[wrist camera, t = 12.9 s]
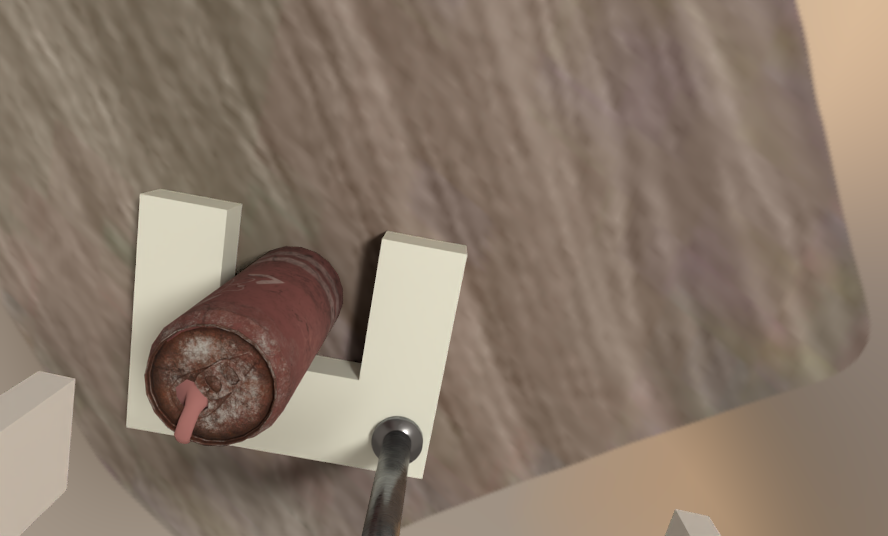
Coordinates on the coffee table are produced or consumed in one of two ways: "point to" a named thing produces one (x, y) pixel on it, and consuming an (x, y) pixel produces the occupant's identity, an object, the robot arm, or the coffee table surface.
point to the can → (243, 348)
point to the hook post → (391, 473)
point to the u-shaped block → (327, 379)
